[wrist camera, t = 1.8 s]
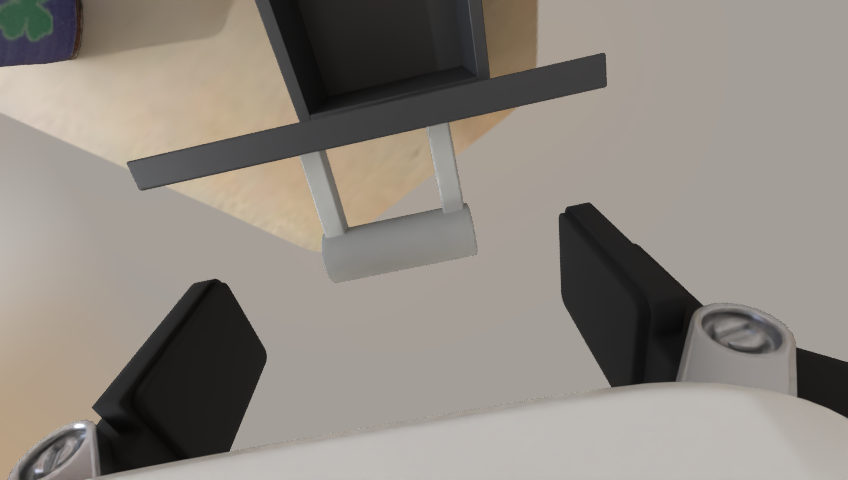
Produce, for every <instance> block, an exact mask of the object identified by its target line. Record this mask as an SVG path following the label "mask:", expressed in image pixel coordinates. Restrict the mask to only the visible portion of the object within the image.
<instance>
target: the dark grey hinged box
mask: <svg viewBox="0 0 848 480" xmlns="http://www.w3.org/2000/svg"><path fill="white" fill-rule="evenodd" d="M255 2H256V5H257V8H258V10H259V13H260V16H261V19H262V21H263V24H264V27H265V29H266V32H267V35H268V38H269V40H270V43H271V46H272V48H273V51H274V54H275V57H276V59H277V62H278V65H279V67H280V70H281V73H282V76H283V78H284V81H285V84H286V86H287V89H288V92H289V95H290V97H291V100H292V103H293V105H294V108H295V111H296V114H297V116H298V119H299V122H303V121H308V120H312V119H316V118H321V117H325V116H329V115H334V114H338V113H343V112H347V111H351V110H356V109H360V108H364V107H369V106H373V105H378V104H382V103H386V102H391V101H395V100H399V99H404V98H408V97H413V96H417V95H421V94H426V93H430V92H434V91H439V90H443V89H447V88H452V87H456V86H461V85H465V84H469V83H474V82H478V81H482V80H487V79H490V72H489V63H488V54H487V45H486V36H485V27H484V18H483V9H482V0H255Z"/></svg>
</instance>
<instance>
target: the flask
mask: <svg viewBox="0 0 848 480" xmlns="http://www.w3.org/2000/svg"><path fill="white" fill-rule="evenodd" d="M82 20H83V16H82V5H81V3H80V0H0V67H4V66H16V65H32V64H47V63H53V62H59V61H65V60H73V59H74V58H75V57H76V56H77V55H78V51H79V48H80V45H81V44H80V43H81V35H82V34H81V33H82V29H81V27H82V24H83V22H82Z"/></svg>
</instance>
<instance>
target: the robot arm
mask: <svg viewBox="0 0 848 480" xmlns="http://www.w3.org/2000/svg"><path fill="white" fill-rule="evenodd" d="M559 236H560V237H559V239H560V267H561V268H560V269H561V295H562V298H563V302H564V305H565V307H566V309H567V310H568V312H569V314H570V316H571V317H572V319H573V321H574V323H575V324H576V326H577V328H578V330H579V331H580V333H581V335H582V337H583V338H584V340H585V342H586V344H587V345H588V347H589V349H590V350H591V352H592V354H593V356H594V357H595V359H596V361H597V363H598V364H599V366H600V368H601V370H602V371H603V373H604V375H605V377H606V378H607V380H608V382H609V384H610V385H611V388H604V389H597V390H590V391H584V392H577V393H571V394H564V395H557V396H551V397H544V398H538V399H531V400H526V401H519V402H513V403H507V404H501V405H495V406H489V407H484V408H478V409H472V410H466V411H460V412H454V413H448V414H442V415H436V416H430V417H424V418H419V419H413V420H406V421H401V422H395V423H389V424H384V425H378V426H372V427H366V428H360V429H355V430H349V431H344V432H338V433H332V434H326V435H320V436H315V437H309V438H304V439H297V440H292V441H286V442H281V443H275V444H269V445H264V446H258V447H253V448H247V449H242V450H236V451H231V452H229V451H230V449H231V446H232V444H233V441H234V439H235V436H236V434H237V432H238V429H239V427H240V424H241V422H242V419H243V417H244V414H245V412H246V409H247V407H248V405H249V402H250V400H251V397H252V395H253V393H254V390H255V388H256V385H257V383H258V380H259V378H260V375H261V373H262V371H263V368H264V366H265V363H266V359H267V354H266V350H265V348H264V347H263V345H262V343H261V341H260V340H259V338H258V336H257V335H256V333H255V331H254V329H253V328H252V326H251V324H250V322H249V321H248V319H247V317H246V315H245V314H244V312H243V310H242V309H241V307H240V305H239V303H238V302H237V300H236V298H235V297H234V295H233V293H232V292H231V290H230V288H229V286H228V285H227V284H226V283H222V282H221V281H219V280H217V279H212V280H207V281H202V282H198V283H194V284H193V285H192V286H191V287H190V288H189V289H188V291H187V292H186V293H185V294H184V296H183V297H182V298H181V299H180V300H179V302H178V303H177V304H176V305H175V306H174V308H173V309H172V310H171V311H170V313H169V314H168V315H167V316H166V318H165V319H164V320H163V321H162V322H161V324H160V325H159V326H158V327H157V329H156V330H155V331H154V332H153V333H152V335H151V336H150V337H149V338H148V339H147V341H146V342H145V343H144V344H143V346H142V347H141V348H140V349H139V350H138V352H137V353H136V354H135V355H134V357H133V358H132V359H131V361H129V363H128V364H127V365H126V366H125V368H124V369H123V370H122V371H121V372H120V374H119V375H118V376H117V378H116V379H115V380H114V381H113V382H112V383H111V385H110V386H109V387H108V388H107V390H106V391H105V392H104V393H103V394H102V396H101V397H100V398H99V399H98V401H97V402H96V403H95V404H94V406H93V407H92V408H93V409H94V410H95V411H96V412H97V413H98V414H99V415H100V416H101V417H102V419H101V420H100V421H99V423H98V424H97V425H95V424H94V423H93V422H92V421H89V420H80V421H76V422H73V423H70V424H67V425H65V426H63V427H61V428H59V429H57V430H56V431H54V432H52V433H51V434H49V435H48V436H46V437H45V438H43V439H42V440H40V441H39V442H38V443H37V444H36V445H34V446H33V447H32V448H31V449H30V450H28V451H27V453H26V454H25V455H24V456H23V457H22V458H21V459H20V460H19V461H18V462H17V464H16V465H15V466H14V468H13V469H12V471H11V472H10V475H9V477H8V480H848V362H845V361H841V360H838V359H835V358H831V357H828V356H824V355H821V354H817V353H814V352H810V351H807V350H803V349H800V348H796V342H795V339H794V336H793V333H792V332H791V331H790V330H789V329H788V327H787V326H786V325H785V324H784V323H782V322H781V321H779V320H778V319H776V318H775V317H773V316H772V315H770V314H768V313H766V312H763V311H761V310H759V309H756V308H752V307H749V306H745V305H741V304H733V303H714V304H709V305H706V306H703V305H702V304H701V303H700V302H699V301H698V300H697V299H696V298H695V297H694V296H692V295H691V294H690V293H689V292H688V291H687V290H686V289H685V288H684V287H683V286H682V285H681V284H680V283H679V282H678V281H676V280H675V279H674V278H673V277H672V276H671V275H670V274H669V273H668V272H667V271H666V270H665V269H664V268H663V267H662V266H660V265H659V264H658V263H657V262H656V261H655V260H654V259H653V258H652V257H651V256H650V255H649V254H648V253H646V252H645V251H644V250H643V249H642V248H641V247H640V246H639V245H637V244H633V243H632V242H631V241H630V240H629V239H628V238H627V237H625V236H624V235H623V234H622V233H621V232H620V231H619V230H618V229H617V228H616V227H615V226H614V225H613V224H612V223H611V222H610V221H609V220H608V219H607V218H606V217H605V216H604V215H602V214H601V213H600V212H599V211H598V210H597V209H596V208H595V207H594V206H593V205H592V204H591V203H583V204H579V205H574V206H569V207H567V208H566V210H565V213H561V214H560V215H559Z"/></svg>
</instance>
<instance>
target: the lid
mask: <svg viewBox="0 0 848 480" xmlns="http://www.w3.org/2000/svg"><path fill="white" fill-rule="evenodd" d="M606 86H607V78H606V55H605V53H600V54H596V55H592V56H587V57H583V58H579V59H574V60H570V61H565V62H561V63H557V64H552V65H548V66H544V67H539V68H535V69H530V70H526V71H522V72H517V73H513V74H509V75H504V76H500V77H496V78H491V79H487V80H482V81H478V82H474V83H469V84H465V85H461V86H456V87H452V88H447V89H443V90H439V91H434V92H430V93H426V94H421V95H417V96H413V97H408V98H404V99H399V100H395V101H391V102H386V103H382V104H378V105H373V106H369V107H364V108H360V109H356V110H351V111H347V112H343V113H338V114H334V115H329V116H325V117H321V118H316V119H312V120H308V121H303V122H299V123H295V124H290V125H286V126H281V127H277V128H273V129H268V130H264V131H260V132H255V133H251V134H246V135H242V136H238V137H233V138H229V139H225V140H220V141H216V142H212V143H207V144H203V145H198V146H194V147H190V148H185V149H181V150H177V151H172V152H168V153H163V154H159V155H155V156H150V157H146V158H142V159H137V160H133V161H128V162H127V165H128V167H129V169H130V172H131V174H132V176H133V178H134V180H135V182H136V184H137V186H138V188H139V190H147V189H151V188H156V187H161V186H165V185H169V184H174V183H178V182H183V181H187V180H192V179H196V178H201V177H205V176H210V175H214V174H219V173H223V172H228V171H232V170H237V169H241V168H246V167H250V166H255V165H259V164H264V163H268V162H272V161H277V160H281V159H286V158H290V157H295V156H299V157H300V160H301V163H302V166H303V169H304V172H305V176H306V179H307V182H308V185H309V188H310V191H311V194H312V197H313V200H314V203H315V206H316V209H317V213H318V216H319V219H320V222H321V225H322V228H323V231H324V234H323V236H322V241H321V252H322V259H323V263H324V267H325V270H326V272H327V274H328V276H329V278H330V279H331V281H333V282H334V283H340V282H345V281H350V280H355V279H360V278H365V277H369V276H375V275H380V274H384V273H389V272H394V271H399V270H404V269H409V268H414V267H419V266H424V265H429V264H434V263H439V262H444V261H449V260H454V259H459V258H464V257H469V256H474V255H477V243H476V236H475V231H474V226H473V221H472V217H471V213H470V210H469V207H468V205H467V203H463V198H462V192H461V187H460V181H459V176H458V170H457V166H456V159H455V154H454V148H453V143H452V137H451V132H450V126H449V122H452V121H456V120H461V119H465V118H470V117H474V116H478V115H483V114H487V113H492V112H496V111H501V110H505V109H510V108H514V107H519V106H523V105H528V104H532V103H537V102H541V101H545V100H550V99H555V98H559V97H563V96H568V95H572V94H577V93H581V92H586V91H590V90H594V89H599V88H604V87H606ZM425 127H426V130H427V135H428V140H429V145H430V150H431V155H432V160H433V164H434V169H435V174H436V179H437V184H438V189H439V194H440V199H441V204H442V208H440V209H435V210H430V211H425V212H420V213H416V214H411V215H406V216H401V217H397V218H392V219H387V220H382V221H378V222H373V223H368V224H363V225H358V226H354V227H348V224H347V221H346V217H345V214H344V211H343V207H342V204H341V200H340V197H339V194H338V190H337V187H336V184H335V180H334V177H333V174H332V170H331V167H330V164H329V160H328V157H327V154H326V149H331V148H335V147H340V146H344V145H349V144H353V143H358V142H362V141H367V140H371V139H375V138H380V137H384V136H389V135H393V134H398V133H402V132H407V131H411V130H416V129H420V128H425Z"/></svg>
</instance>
